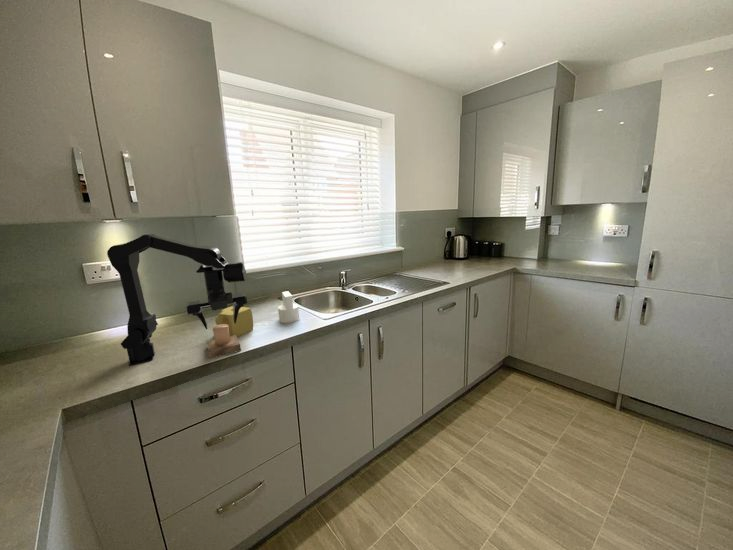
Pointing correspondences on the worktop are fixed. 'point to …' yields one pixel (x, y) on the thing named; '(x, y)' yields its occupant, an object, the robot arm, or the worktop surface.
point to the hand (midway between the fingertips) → (221, 326)
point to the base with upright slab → (288, 309)
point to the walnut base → (223, 347)
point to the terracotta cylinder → (221, 334)
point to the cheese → (242, 322)
